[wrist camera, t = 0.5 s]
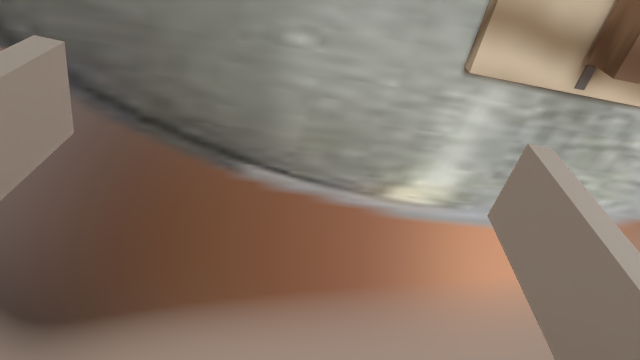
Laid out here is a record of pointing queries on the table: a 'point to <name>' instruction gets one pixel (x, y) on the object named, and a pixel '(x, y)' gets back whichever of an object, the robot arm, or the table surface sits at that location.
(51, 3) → the table surface
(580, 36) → the dial board
